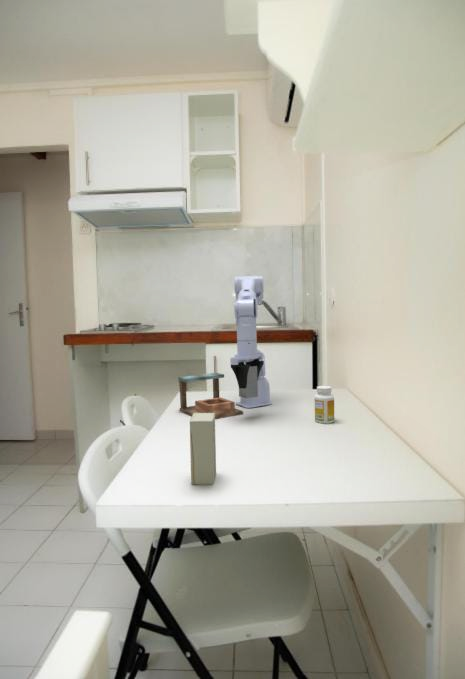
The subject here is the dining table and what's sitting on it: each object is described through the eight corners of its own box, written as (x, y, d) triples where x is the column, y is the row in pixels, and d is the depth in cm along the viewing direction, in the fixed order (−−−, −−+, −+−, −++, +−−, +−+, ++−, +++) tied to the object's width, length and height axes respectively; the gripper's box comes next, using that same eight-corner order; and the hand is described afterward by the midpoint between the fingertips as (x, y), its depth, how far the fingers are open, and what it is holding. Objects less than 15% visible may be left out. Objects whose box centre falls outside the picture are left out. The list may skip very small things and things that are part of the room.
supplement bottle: (333, 418, 125) (332, 385, 125) (335, 423, 120) (335, 388, 119) (314, 418, 126) (313, 385, 125) (315, 423, 121) (315, 388, 120)
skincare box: (195, 472, 87) (192, 412, 86) (217, 472, 87) (215, 412, 86) (190, 485, 81) (188, 420, 80) (214, 485, 81) (212, 420, 80)
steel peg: (250, 394, 131) (249, 364, 131) (257, 396, 128) (257, 366, 127) (239, 396, 129) (238, 366, 129) (246, 398, 126) (245, 367, 125)
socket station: (217, 405, 148) (216, 372, 147) (242, 414, 134) (241, 378, 133) (179, 411, 141) (178, 377, 140) (202, 421, 127) (200, 383, 126)
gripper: (248, 338, 136) (249, 381, 137) (221, 342, 124) (222, 389, 125) (268, 338, 132) (269, 383, 133) (241, 342, 120) (243, 391, 121)
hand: (248, 386), depth 129 cm, fingers closed on steel peg, 5 cm apart
